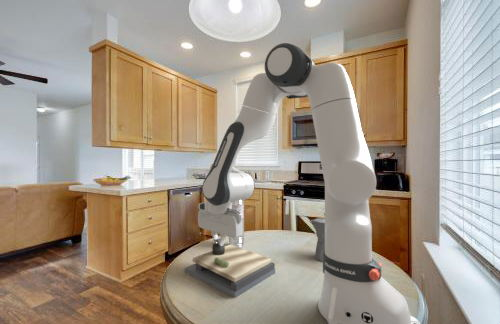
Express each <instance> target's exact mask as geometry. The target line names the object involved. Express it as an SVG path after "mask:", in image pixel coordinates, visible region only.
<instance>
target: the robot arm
mask: <svg viewBox="0 0 500 324" xmlns="http://www.w3.org/2000/svg"><path fill="white" fill-rule="evenodd" d="M248 85H249V86H248V88H247V90H246V93H245V96H244V99H243V102H242V105H241V109H240V112H239V113H238V115H237V117H236V119H235V121H234V122H233V123H231V124H230V125H229V126H228V128H227V129H226V131H225V133H224V136H223V138H222V140H221V143H220V146H219V149H218V150H217V153H216V156H215V158H214V161H213V163H211V165H210V166H209V171H208V173H207V175H206V177H205V178H204V179H203V182H202V186H201V187H202V188H201V190H202V194H203V197H204V198H205V200H206V201H202V202H201V203H198V210H199V211H198V213H197V222H198V223H197V224H198V227H199V228H200V229H204V230H207V231H210V234H211V237H212V239H213V242H212V244H216V245H217V244H218V245H219V246H223V245H224V244H225V240H226V238H227V237H228V238H229V237H231V238H234V239H236V238H239V237H241V236H242V234H243V230H242V219H241V214H240V213H239V212H238V210H233V209H232V202H235V201H240V200H244V201H245V200H247V199H250V198H251V197H252V196H253V194H254V191H255V187H256V186H255V181H254V178H253V177H252V176H251V174H249V173H248V172H245V171H242V170H240V169H238V168H236V167H235V162H236V160H237V158H238V155H239V153H240V152H241V150H242V149H243V148H244V147H245V146H246V145H249V143H252V142H254V141H257V140H260V139H263V138H264V137H266V136H267V135H268V134H269V133H270V132H271V130H272V128H273V127H274V124H275V120H276V118H277V114H278V109H279V107H280V104H281V102H282V100H284V99H285V98H287V99H288V100H292V99H301V98H308V100H309V106H310V112H311V116H312V117H311V118H312V121H313V127H314V131H315V137H316V143H317V149H318V155H319V160H320V164H321V165H320V166H321V169H322V175H323V181H324V213H325V215H324V218H325V251H324V252H323V262H322V273H323V281H322V288H321V293H320V297H319V301H318V304H317V307H318V308H317V309H318V311H319V313H320V315H322V317H323V318H324V319H325V320H326V322H327V324H421V323H420V321H419V320H418V319H417V318H416V317H414V316H412V315H411V312H410V309H409V305H408V303H407V300H406V298H405V297H404V295H402V293H400V292H399V291H398V290H397V289H395V288H394V287H393V286H392V284H391V283H389V282H387V280H386V279H384V277H382V265H383V264H382V261H380V262H379V263H378V262H377V261H376V260H375V259H374V258H373V255H372V254H373V248H372V247H373V244H372V243H373V237H372V236H373V235H372V234H373V226H372V221H371V213H370V202H369V201H370V200H369V199H370V198H371V197H372V195H373V194H374V193H375V190H376V188H377V176H376V173H375V169H374V166H373V162H372V158H371V155H370V151H369V147H368V145H367V142H366V140H365V137H364V133H363V129H362V126H361V120H360V116H359V112H358V105H357V102H356V96H355V93H354V90H353V89H354V88H353V86H352V84H351V80H350V77H349V75H348V74H347V72H346V69H345V67H344V66H343V65H342V64H340V63H337V62H326V63H323V64H320V65H316V64H315V63H314V61H313V60H312V58H311V57H310V56H309V55H308V54H306V53H305V51H303V50H302V49H301V48H300V47H299V46H297V45H294V44H292V43H288V42H284V43H283V42H282V43H279V44H276V45H275V46H274V47H273V48H272V49H271V50H269V52H268V53H267V55H266V58H265V61H264V72H261V73H257V74H256V75H254V76H253V77H252V79H251V81H250V84H248ZM238 213H239V214H238ZM218 234H219V235H218Z"/></svg>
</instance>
